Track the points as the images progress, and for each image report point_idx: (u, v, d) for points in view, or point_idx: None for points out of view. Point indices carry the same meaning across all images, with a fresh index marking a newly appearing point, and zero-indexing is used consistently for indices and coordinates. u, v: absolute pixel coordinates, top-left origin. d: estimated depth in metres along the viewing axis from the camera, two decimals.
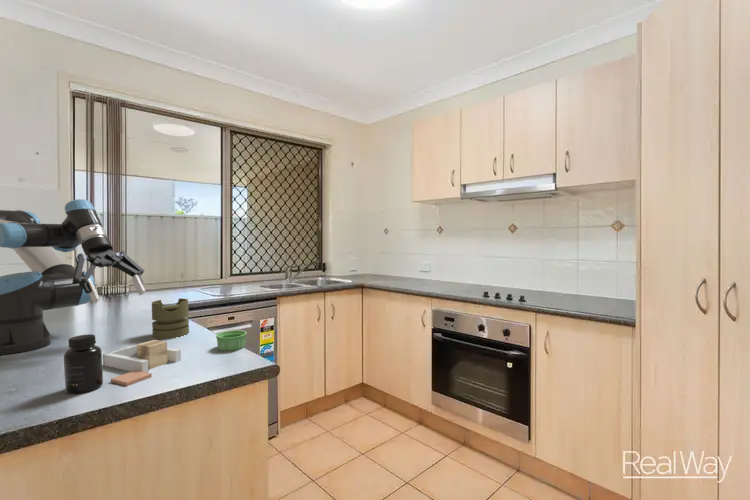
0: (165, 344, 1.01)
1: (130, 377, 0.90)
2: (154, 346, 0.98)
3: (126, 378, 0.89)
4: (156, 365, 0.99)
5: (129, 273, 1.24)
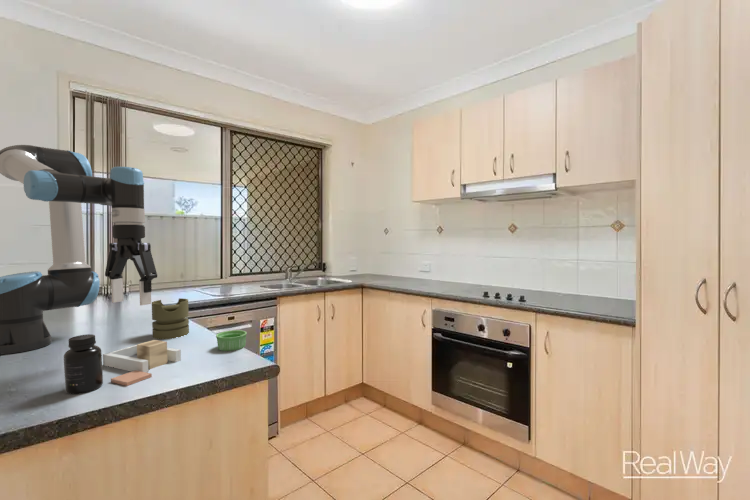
0: (165, 344, 1.01)
1: (130, 377, 0.90)
2: (154, 346, 0.98)
3: (126, 378, 0.89)
4: (156, 365, 0.99)
5: None
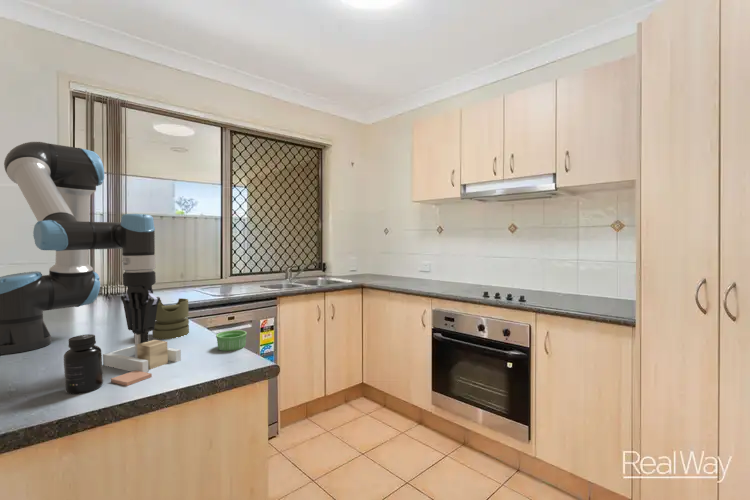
0: (166, 344, 1.01)
1: (130, 377, 0.90)
2: (154, 346, 0.98)
3: (126, 378, 0.89)
4: (156, 365, 0.99)
5: None
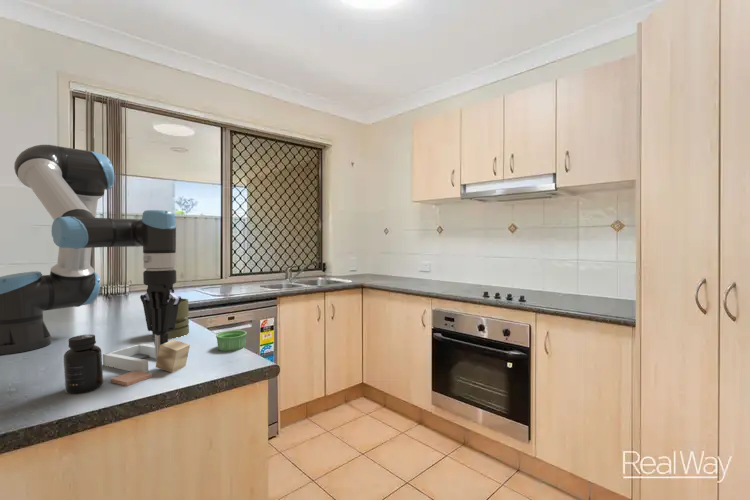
0: (188, 348, 0.99)
1: (130, 377, 0.90)
2: (180, 350, 0.96)
3: (126, 378, 0.89)
4: (177, 368, 0.96)
5: None
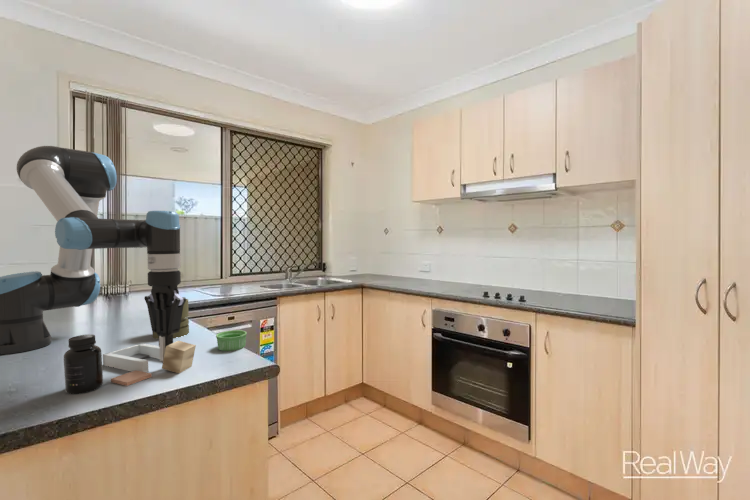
0: (194, 348, 0.98)
1: (130, 377, 0.90)
2: (187, 350, 0.95)
3: (126, 378, 0.89)
4: (184, 369, 0.96)
5: None
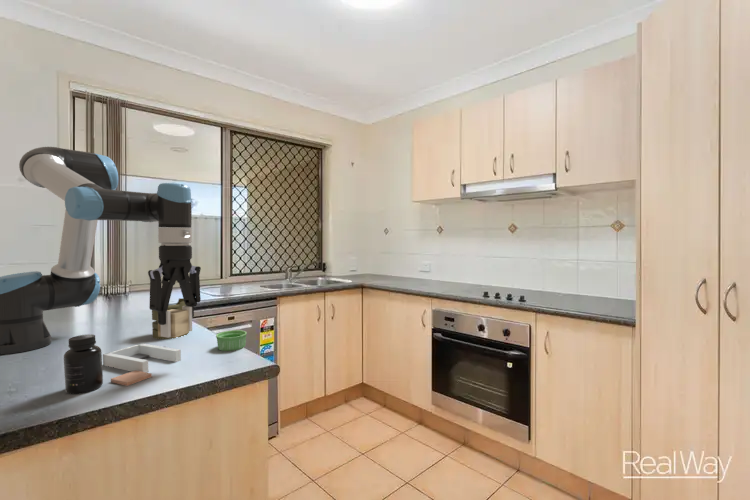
0: (187, 313, 0.98)
1: (130, 377, 0.90)
2: (178, 314, 0.95)
3: (126, 378, 0.89)
4: (180, 333, 0.95)
5: (185, 297, 0.99)
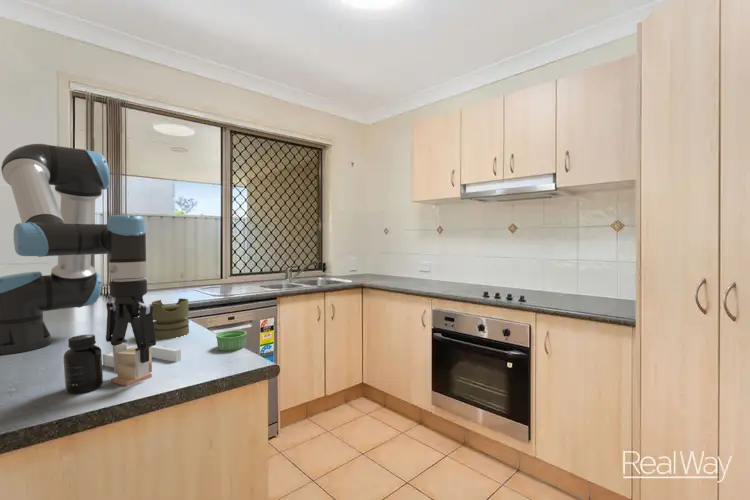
0: (133, 357, 0.88)
1: None
2: (121, 354, 0.89)
3: (126, 378, 0.89)
4: (123, 376, 0.89)
5: None
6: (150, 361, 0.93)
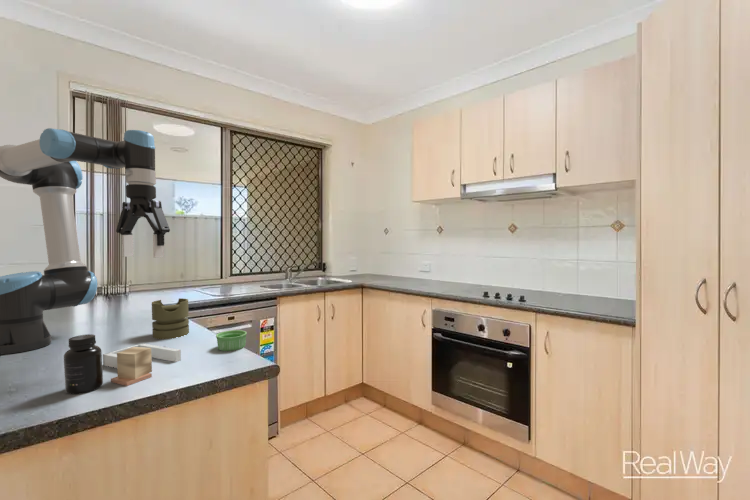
0: (133, 357, 0.88)
1: None
2: (121, 354, 0.89)
3: (126, 378, 0.89)
4: (123, 376, 0.89)
5: None
6: (150, 361, 0.93)
